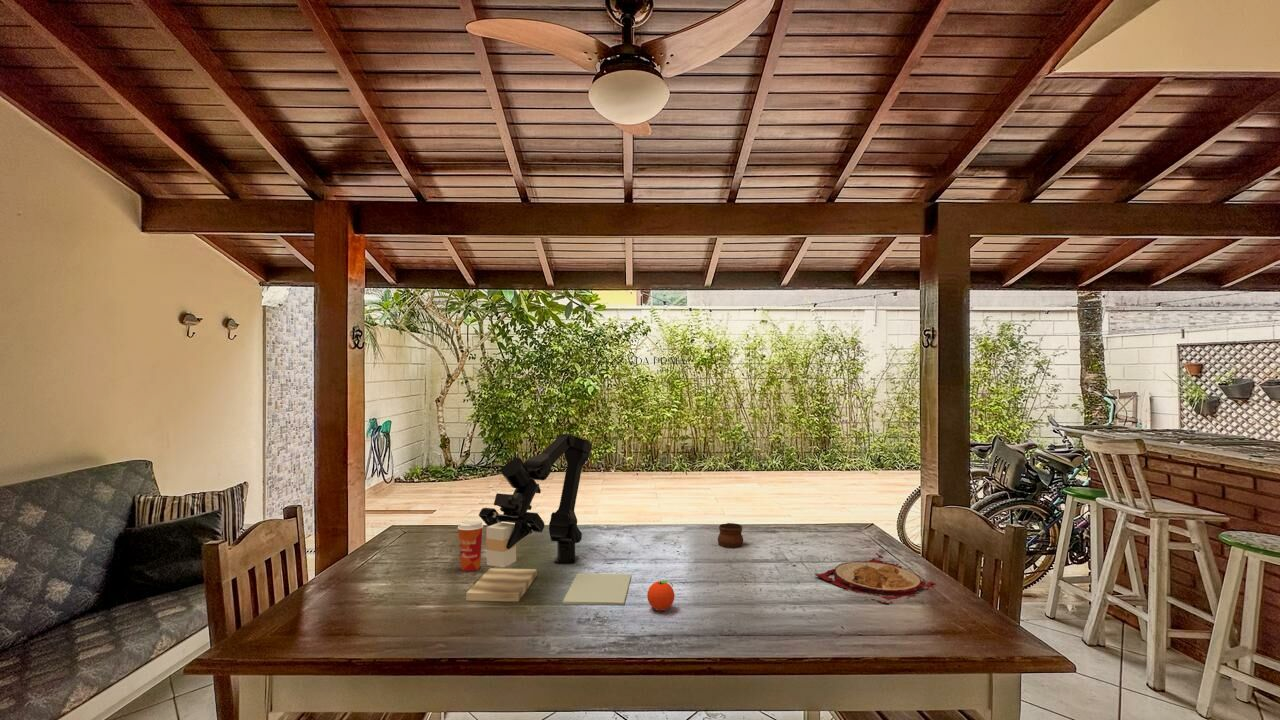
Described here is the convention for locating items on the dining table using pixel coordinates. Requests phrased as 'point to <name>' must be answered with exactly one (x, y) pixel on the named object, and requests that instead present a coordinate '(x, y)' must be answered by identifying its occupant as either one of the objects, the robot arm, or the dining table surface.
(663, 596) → the clementine
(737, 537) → the ceramic pot
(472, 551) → the paper cup
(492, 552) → the carton
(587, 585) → the mat
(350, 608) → the dining table surface
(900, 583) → the plate with food
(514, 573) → the board
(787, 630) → the dining table surface
